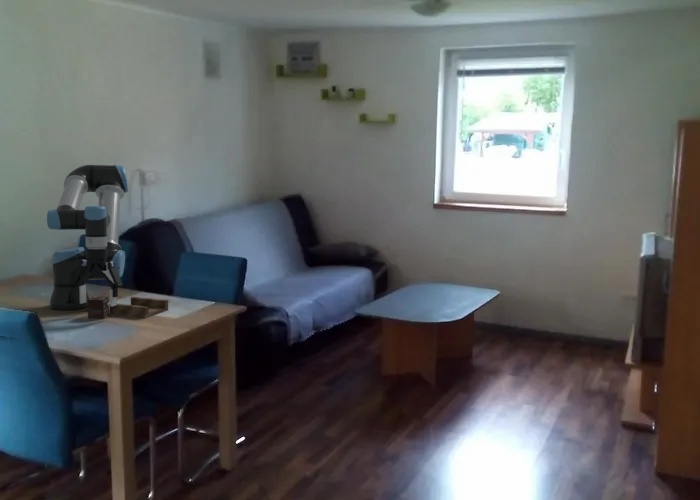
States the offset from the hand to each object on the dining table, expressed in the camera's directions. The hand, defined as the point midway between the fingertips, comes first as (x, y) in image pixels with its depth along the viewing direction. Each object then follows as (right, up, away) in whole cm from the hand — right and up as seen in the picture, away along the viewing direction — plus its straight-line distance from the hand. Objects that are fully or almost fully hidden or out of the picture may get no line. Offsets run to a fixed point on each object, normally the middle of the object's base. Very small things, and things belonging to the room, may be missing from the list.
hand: (98, 304), depth 256 cm
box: (0, -5, +1) cm, 5 cm away
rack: (+12, -4, +10) cm, 16 cm away
